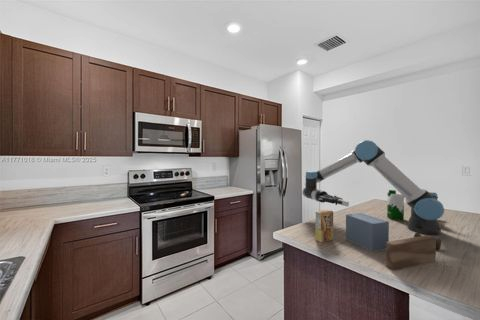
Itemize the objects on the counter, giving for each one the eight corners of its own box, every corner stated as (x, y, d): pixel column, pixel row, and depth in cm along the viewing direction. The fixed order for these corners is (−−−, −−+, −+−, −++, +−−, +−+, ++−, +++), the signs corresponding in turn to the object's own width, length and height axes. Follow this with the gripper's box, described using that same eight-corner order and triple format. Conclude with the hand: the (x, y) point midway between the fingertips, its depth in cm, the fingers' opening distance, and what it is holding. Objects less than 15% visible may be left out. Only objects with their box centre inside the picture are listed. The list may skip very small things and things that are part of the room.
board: (386, 266, 84) (386, 241, 84) (427, 257, 91) (427, 235, 91) (393, 270, 81) (393, 244, 81) (435, 261, 88) (435, 237, 88)
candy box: (327, 237, 114) (327, 209, 114) (333, 239, 111) (333, 211, 110) (315, 240, 111) (315, 211, 110) (321, 243, 107) (321, 213, 106)
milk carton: (385, 216, 152) (385, 189, 152) (399, 217, 150) (399, 189, 150) (391, 220, 144) (391, 191, 143) (406, 221, 142) (406, 191, 141)
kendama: (404, 251, 98) (418, 240, 110) (431, 260, 90) (443, 247, 102) (405, 239, 98) (419, 229, 109) (432, 247, 90) (444, 235, 102)
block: (345, 238, 113) (345, 214, 112) (360, 236, 116) (360, 213, 115) (372, 251, 97) (372, 223, 97) (388, 248, 100) (388, 221, 100)
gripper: (327, 200, 142) (356, 209, 119) (311, 202, 138) (337, 211, 115) (328, 189, 142) (356, 196, 119) (311, 190, 138) (338, 197, 115)
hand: (347, 203), depth 117 cm, fingers closed
